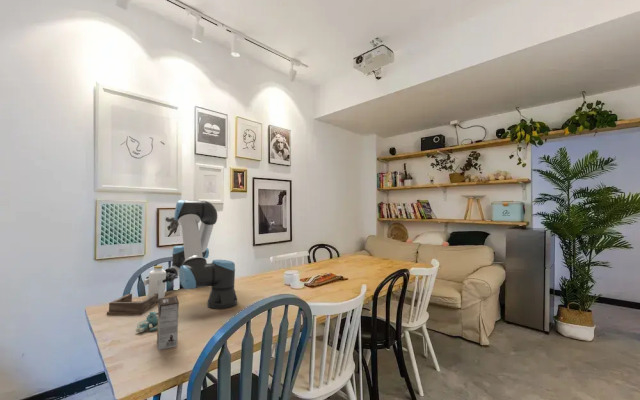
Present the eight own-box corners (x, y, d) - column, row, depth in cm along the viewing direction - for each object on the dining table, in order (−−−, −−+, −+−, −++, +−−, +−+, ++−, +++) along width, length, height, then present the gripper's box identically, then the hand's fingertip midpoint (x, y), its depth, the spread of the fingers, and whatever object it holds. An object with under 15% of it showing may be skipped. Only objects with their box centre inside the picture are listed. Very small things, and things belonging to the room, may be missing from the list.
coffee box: (156, 340, 108) (158, 298, 109) (175, 336, 112) (176, 295, 112) (157, 350, 100) (159, 304, 101) (177, 346, 104) (179, 302, 104)
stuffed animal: (125, 320, 114) (149, 304, 126) (127, 336, 115) (151, 319, 127) (148, 322, 112) (170, 307, 123) (150, 339, 113) (172, 322, 124)
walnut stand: (127, 303, 150) (128, 293, 150) (158, 303, 151) (159, 293, 151) (106, 314, 134) (107, 303, 134) (141, 314, 135) (142, 303, 135)
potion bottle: (156, 301, 153) (159, 268, 153) (143, 300, 154) (145, 266, 155) (167, 297, 161) (170, 265, 162) (155, 295, 163) (157, 264, 163)
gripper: (186, 279, 176) (169, 289, 153) (155, 279, 175) (132, 289, 152) (187, 267, 177) (170, 275, 154) (155, 267, 176) (133, 275, 153)
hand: (151, 282), depth 153 cm, fingers closed on potion bottle, 6 cm apart
